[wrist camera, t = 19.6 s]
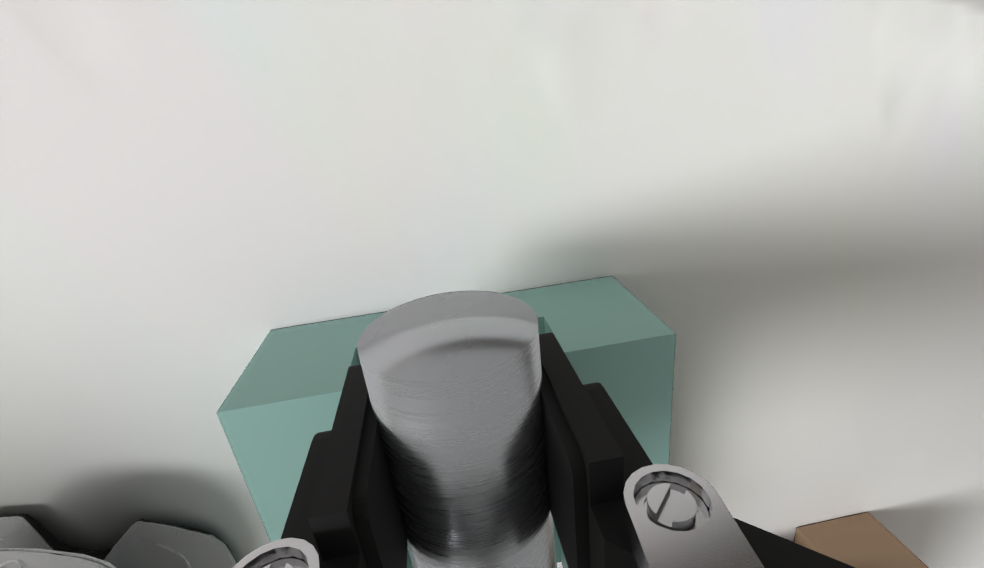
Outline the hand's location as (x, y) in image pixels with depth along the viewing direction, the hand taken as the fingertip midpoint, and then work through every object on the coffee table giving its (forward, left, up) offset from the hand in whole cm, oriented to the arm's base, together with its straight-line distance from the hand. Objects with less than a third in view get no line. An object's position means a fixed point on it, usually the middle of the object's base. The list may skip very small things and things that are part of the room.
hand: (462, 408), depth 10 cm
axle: (-4, 0, -1) cm, 4 cm away
